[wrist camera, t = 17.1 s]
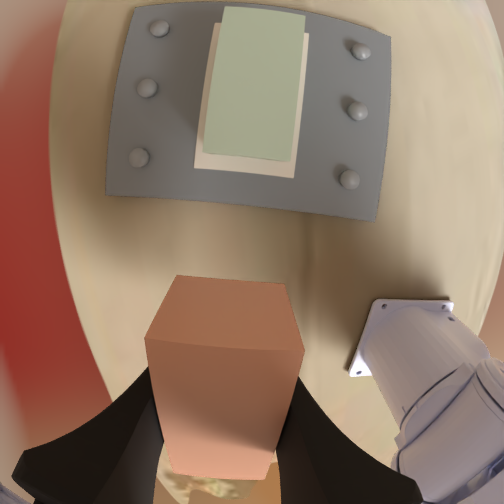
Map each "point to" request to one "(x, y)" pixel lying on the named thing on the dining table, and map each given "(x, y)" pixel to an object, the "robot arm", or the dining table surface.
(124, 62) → the baseplate
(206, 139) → the sage brick
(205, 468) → the terracotta brick
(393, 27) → the dining table surface
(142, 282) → the dining table surface
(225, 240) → the dining table surface
